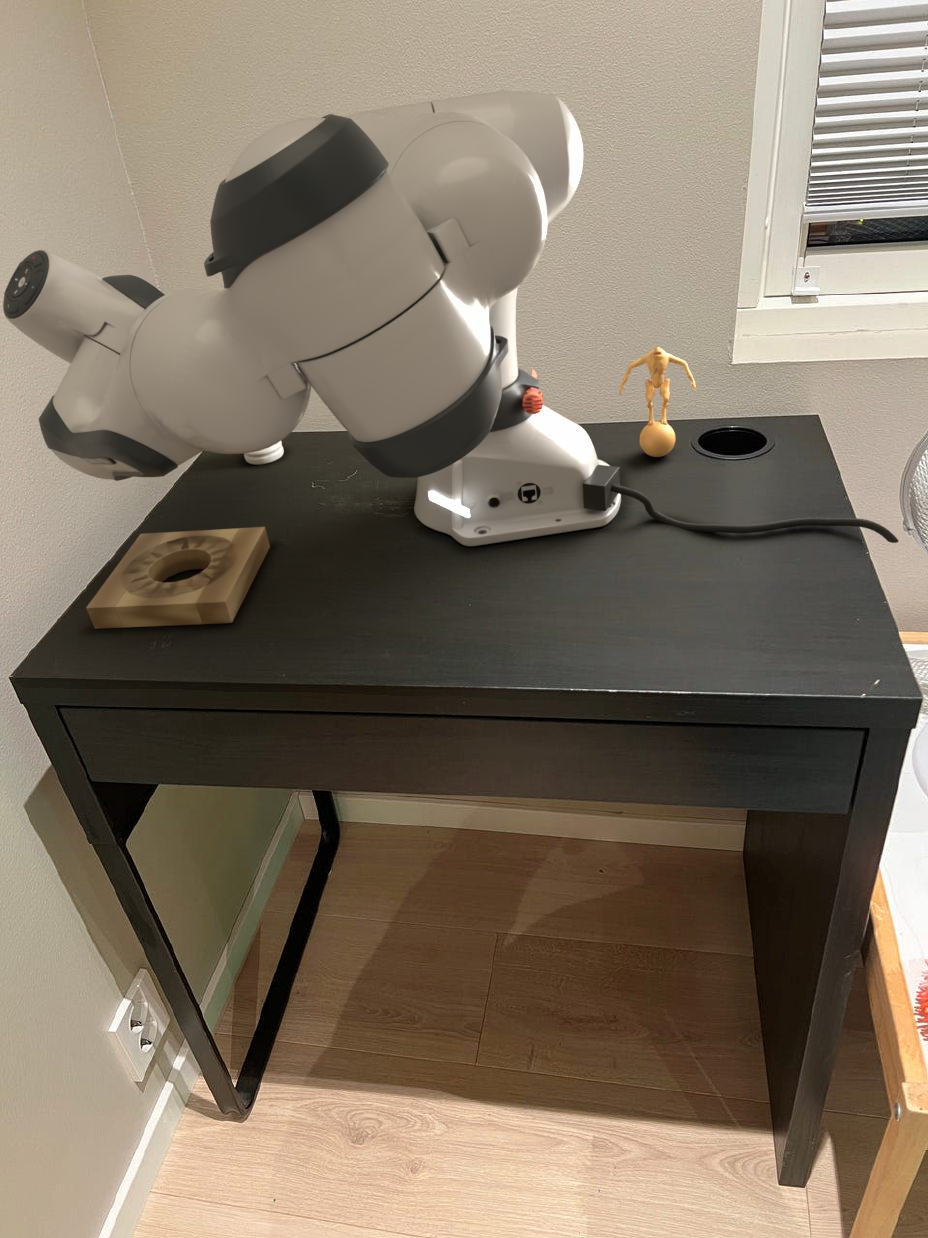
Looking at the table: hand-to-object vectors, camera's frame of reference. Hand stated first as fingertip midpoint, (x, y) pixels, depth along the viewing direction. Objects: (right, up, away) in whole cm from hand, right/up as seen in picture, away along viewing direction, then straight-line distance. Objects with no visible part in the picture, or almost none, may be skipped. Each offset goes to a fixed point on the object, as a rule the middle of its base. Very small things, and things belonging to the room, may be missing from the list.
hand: (227, 407), depth 111 cm
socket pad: (0, -22, -17) cm, 28 cm away
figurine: (+51, -6, -4) cm, 51 cm away
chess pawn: (+3, -5, +8) cm, 9 cm away
